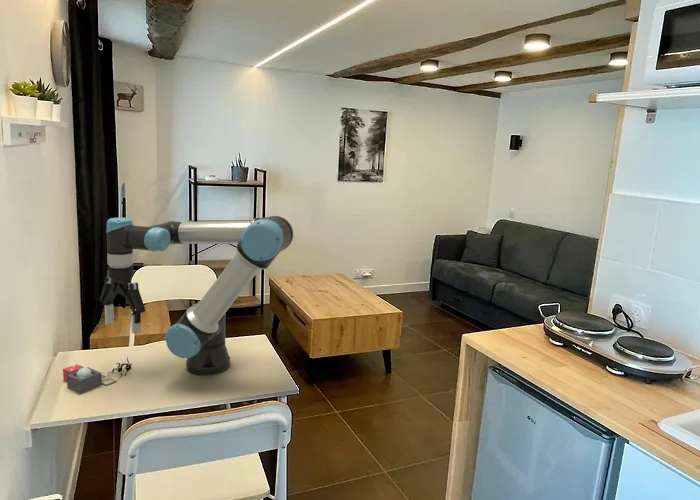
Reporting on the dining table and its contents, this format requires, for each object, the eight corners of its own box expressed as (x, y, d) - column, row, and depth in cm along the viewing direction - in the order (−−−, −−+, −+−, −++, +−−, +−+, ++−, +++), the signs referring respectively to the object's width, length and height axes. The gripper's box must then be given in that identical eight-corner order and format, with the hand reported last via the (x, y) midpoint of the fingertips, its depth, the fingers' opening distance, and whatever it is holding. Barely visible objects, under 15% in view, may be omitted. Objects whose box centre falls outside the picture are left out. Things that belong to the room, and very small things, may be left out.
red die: (82, 379, 159) (82, 366, 158) (70, 383, 155) (70, 370, 154) (75, 376, 161) (74, 363, 160) (63, 380, 157) (62, 367, 156)
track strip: (117, 381, 158) (117, 380, 158) (105, 386, 155) (105, 384, 155) (77, 365, 169) (76, 363, 169) (65, 369, 165) (65, 367, 165)
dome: (94, 381, 154) (94, 367, 153) (82, 385, 151) (81, 372, 150) (86, 377, 156) (86, 364, 155) (74, 382, 153) (73, 368, 152)
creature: (111, 385, 158) (136, 374, 163) (106, 371, 157) (132, 361, 161) (106, 375, 164) (130, 366, 169) (102, 362, 163) (126, 352, 167)
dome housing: (101, 385, 155) (101, 372, 154) (80, 394, 149) (79, 380, 148) (88, 380, 158) (87, 367, 158) (67, 388, 152) (66, 374, 152)
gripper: (156, 269, 154) (157, 332, 158) (107, 258, 166) (109, 317, 170) (135, 273, 148) (137, 339, 152) (86, 261, 160) (88, 322, 163)
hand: (122, 327), depth 161 cm, fingers open, 13 cm apart
